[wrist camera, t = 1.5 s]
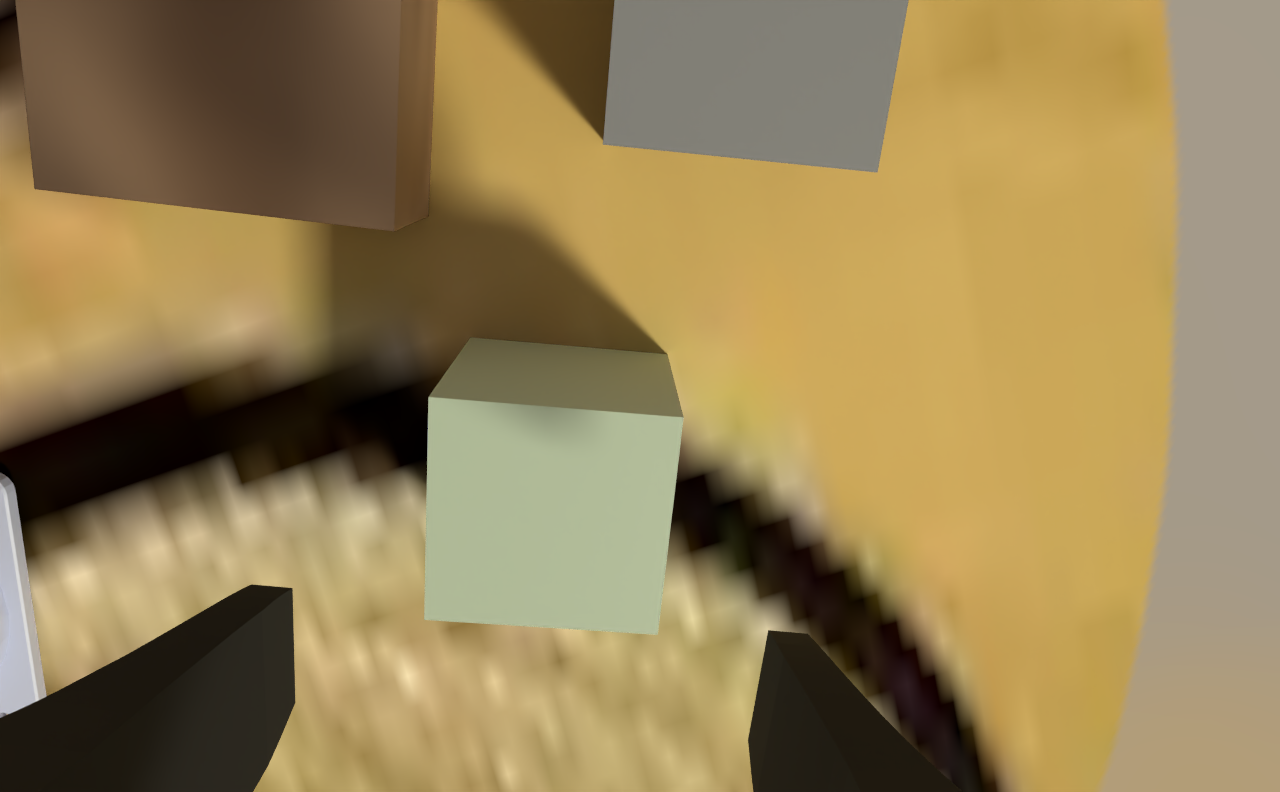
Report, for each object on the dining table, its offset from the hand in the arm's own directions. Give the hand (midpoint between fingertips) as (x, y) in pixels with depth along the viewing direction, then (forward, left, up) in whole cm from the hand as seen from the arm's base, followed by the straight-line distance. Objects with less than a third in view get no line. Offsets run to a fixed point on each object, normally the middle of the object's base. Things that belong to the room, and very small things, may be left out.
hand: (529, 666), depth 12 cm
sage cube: (0, 0, -10) cm, 10 cm away
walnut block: (-7, +9, -10) cm, 15 cm away
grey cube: (+3, +10, -10) cm, 14 cm away
